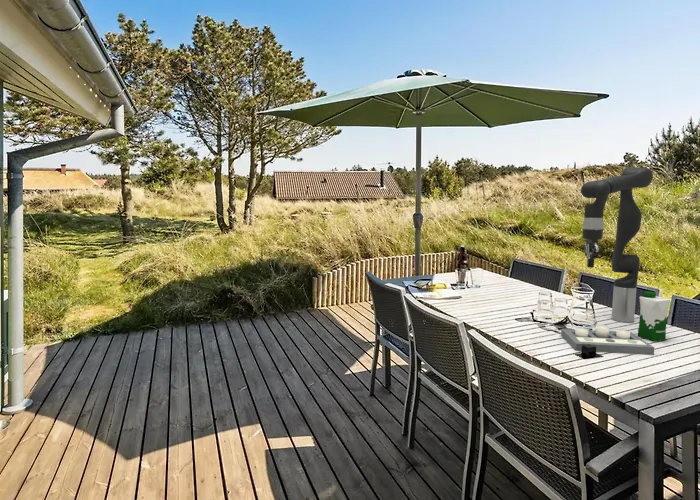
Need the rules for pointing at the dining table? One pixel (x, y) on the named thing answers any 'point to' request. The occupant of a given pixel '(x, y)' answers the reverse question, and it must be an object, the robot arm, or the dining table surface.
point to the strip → (610, 341)
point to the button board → (613, 348)
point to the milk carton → (653, 317)
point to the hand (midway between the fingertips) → (590, 267)
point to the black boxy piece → (588, 352)
